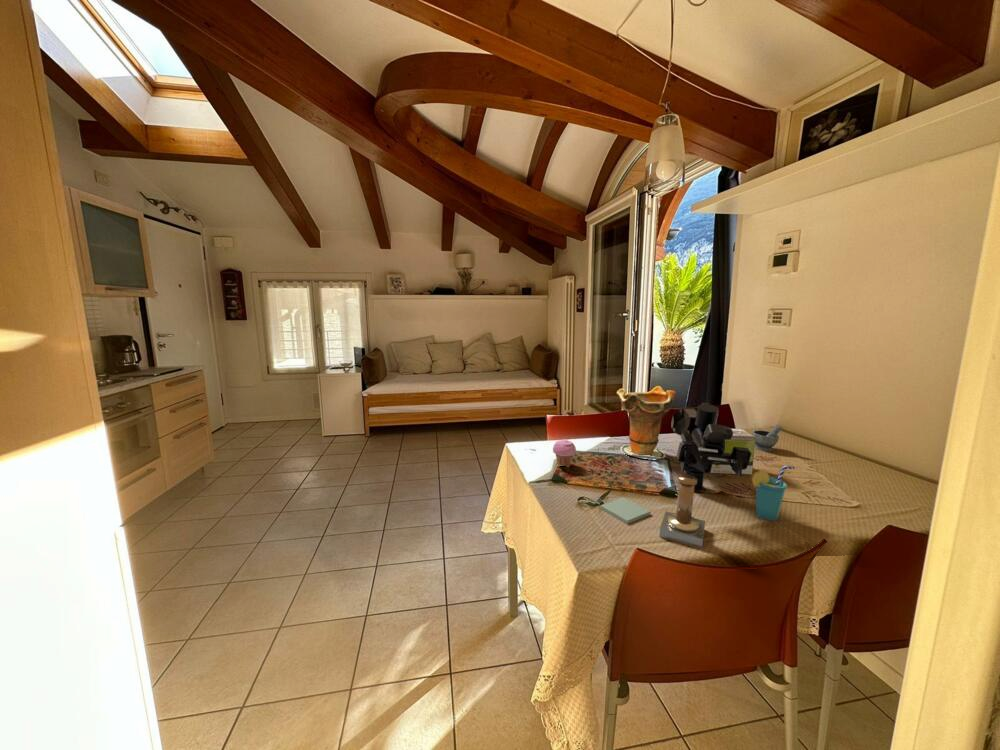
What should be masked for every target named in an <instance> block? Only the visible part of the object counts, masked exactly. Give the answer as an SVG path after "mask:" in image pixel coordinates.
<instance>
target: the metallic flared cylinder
mask: <svg viewBox="0 0 1000 750" xmlns="http://www.w3.org/2000/svg"><path fill="white" fill-rule="evenodd" d="M677 482H678V495H677V503H676V505H677V506H676V513H674V514H670V515H669V516H668V524H669V525H670V526H672V527H673V528H675V529H677V530H680V531H684V532H695V531H697V530H698V529H699V522H698V520H696V519H697V518H695V517H694V516H692V514H693V505H694V497H695V496H694V495H695V494H694V493H695V491H694V486H695V485H696V484H697V478H696V477H694V476H691V475H687V474H685V473H683V474H678V475H677Z"/></svg>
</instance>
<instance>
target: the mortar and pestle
mask: <svg viewBox="0 0 1000 750" xmlns="http://www.w3.org/2000/svg"><path fill="white" fill-rule="evenodd" d="M783 429H784V428H783V426H781V425H780V424H775V426H774V427H773V428H772V429H771V430H762V429H756V430H755V429H754V430H752V431H751V434H752V435H753V436H755V448H754V449H755V450H757V451H762V452H772V451H773V447H775V445H777V443H778V441H779V439H780V435H779V433H780V432H781V431H783Z"/></svg>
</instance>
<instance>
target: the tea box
mask: <svg viewBox="0 0 1000 750" xmlns="http://www.w3.org/2000/svg"><path fill="white" fill-rule="evenodd" d="M731 429H732V431H733V436H732V437H731V439H726V440H724V444H725V447H724V448H722V450H723V453H732V450H733V447H742V448H748V449H749V451H750V452H751V453H752V454H751V457H750V460H749V463H748V466H747V469H745V470H742V474H741V475H751V476H752V475H753V469H754V468H753V467H754V457H755V449H756V448H755V445H756V444H755V436H753V435H752V433H749V432H748V431H746V430H744V429H743V428H731ZM731 468H732V467H731V466H730V463H729V462H727V461H718V462H715V461H713V464H712V468H711V472H710V474H728V475H729V474H732V475H737V474H736V473H735V472H734V471H733V470H732V469H731Z"/></svg>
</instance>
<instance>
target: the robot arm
mask: <svg viewBox="0 0 1000 750" xmlns="http://www.w3.org/2000/svg"><path fill="white" fill-rule="evenodd" d="M718 417H719V407H718V406H716V405H713V404H710V402H701V404H699V405H697V408H693V407H680V409H679V411H677V412H676V413H674V414H673V415H672V418H671V422H670V423H671V424H670V425H671V429H672V431H673V432H674V433H675V435H678V436H680V439H681V441H680V442H679V444H678V448H677V452H676V458H677V460H678V462H679V466H680V469H681V471H682V472H684V474H687V475H691V476H694V477H696V478H697V484H696V485H695V486H694V492H708V489H707V488H706V487H705V486H704V474H711V473H710V472H711V468H712V464H713V461H715V462H718V461H727V462H729V463H730V466H731V467H732V468H731V469H732V470H733V471H734V472H735V473H736V474H735V475H737V476H739V477H741V476H742V475H743V474H742V470H745V469H747V466H748V463H749V460H750V457H751V454H752V453H751V452H750V451H749V449H748V448H742V447H733V450H732V453H723V450H722V448H724V447H725V444H724V440H726V439H731V437H732V436H733V431H732V429H733V428H731V427H730V426H726V425H724V424H723V425H722V424H718Z"/></svg>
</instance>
